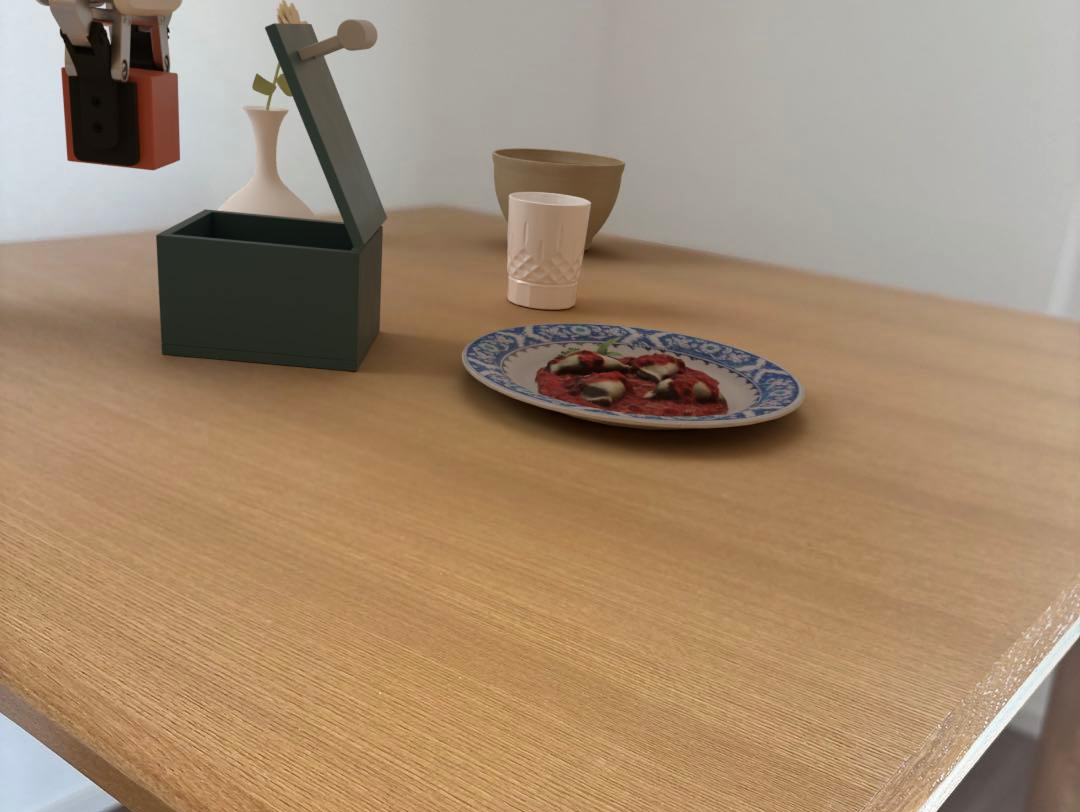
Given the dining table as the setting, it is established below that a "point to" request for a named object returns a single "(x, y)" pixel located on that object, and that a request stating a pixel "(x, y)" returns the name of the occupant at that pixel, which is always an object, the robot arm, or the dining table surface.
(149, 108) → the block
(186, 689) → the dining table surface
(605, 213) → the planter bowl
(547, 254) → the white cup
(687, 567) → the dining table surface
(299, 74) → the lid
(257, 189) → the flower in vase
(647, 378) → the ceramic plate
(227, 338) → the chest
